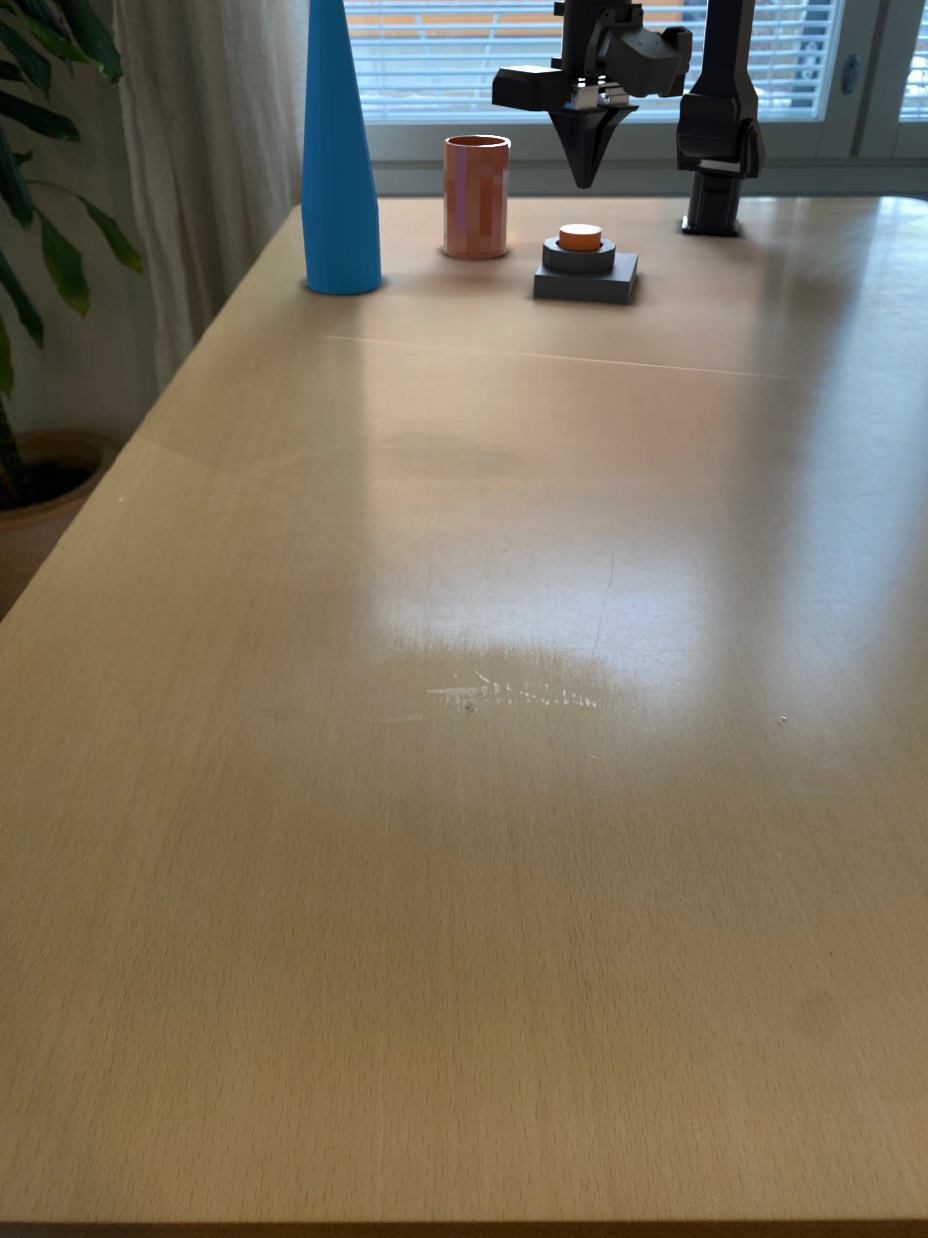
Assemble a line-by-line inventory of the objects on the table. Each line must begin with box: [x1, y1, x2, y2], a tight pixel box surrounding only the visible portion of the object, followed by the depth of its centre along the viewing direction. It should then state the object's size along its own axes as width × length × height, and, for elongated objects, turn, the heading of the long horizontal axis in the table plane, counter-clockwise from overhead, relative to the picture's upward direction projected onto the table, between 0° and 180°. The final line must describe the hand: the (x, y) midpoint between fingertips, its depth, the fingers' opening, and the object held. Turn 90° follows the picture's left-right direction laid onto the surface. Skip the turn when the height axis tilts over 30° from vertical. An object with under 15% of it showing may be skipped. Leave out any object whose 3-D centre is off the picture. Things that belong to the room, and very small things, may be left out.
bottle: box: [300, 0, 383, 295], centre depth 85 cm, size 7×7×30 cm
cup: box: [442, 134, 511, 260], centre depth 101 cm, size 7×7×11 cm
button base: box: [532, 235, 639, 306], centre depth 92 cm, size 10×9×4 cm
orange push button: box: [558, 223, 602, 250], centre depth 91 cm, size 4×4×2 cm
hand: (583, 188), depth 88 cm, fingers closed
